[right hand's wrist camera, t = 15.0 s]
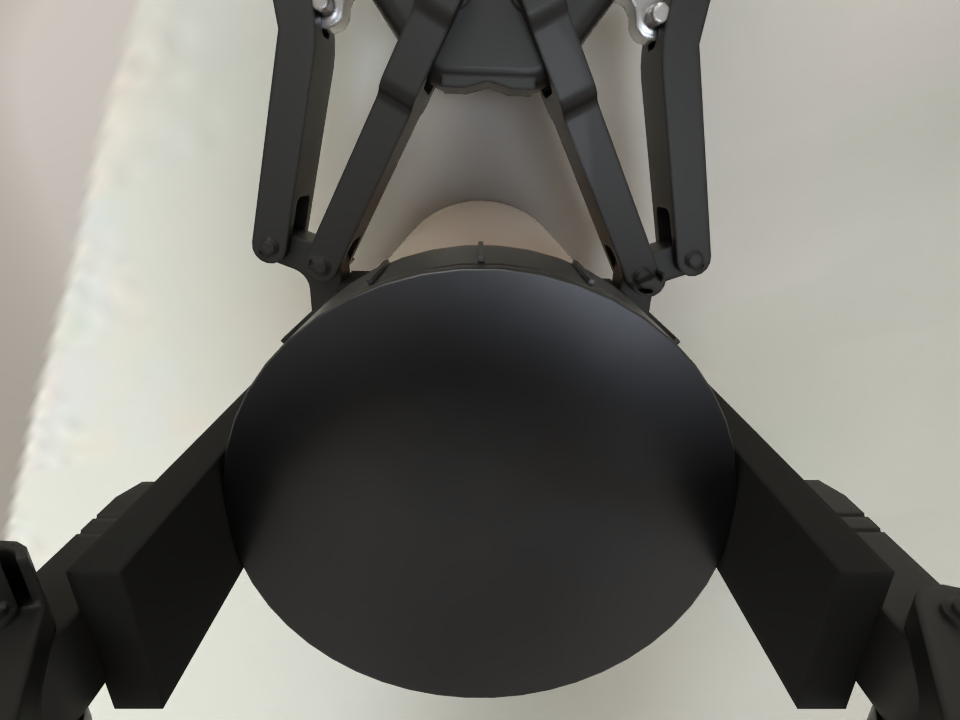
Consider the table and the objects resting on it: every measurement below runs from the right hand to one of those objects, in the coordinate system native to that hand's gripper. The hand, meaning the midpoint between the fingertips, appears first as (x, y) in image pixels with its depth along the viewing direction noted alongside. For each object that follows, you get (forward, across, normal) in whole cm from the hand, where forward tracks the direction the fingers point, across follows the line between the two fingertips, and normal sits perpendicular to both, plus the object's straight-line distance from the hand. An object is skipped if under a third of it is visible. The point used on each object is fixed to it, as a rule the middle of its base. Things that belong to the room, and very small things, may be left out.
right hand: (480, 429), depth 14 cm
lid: (-3, 0, 0) cm, 3 cm away
